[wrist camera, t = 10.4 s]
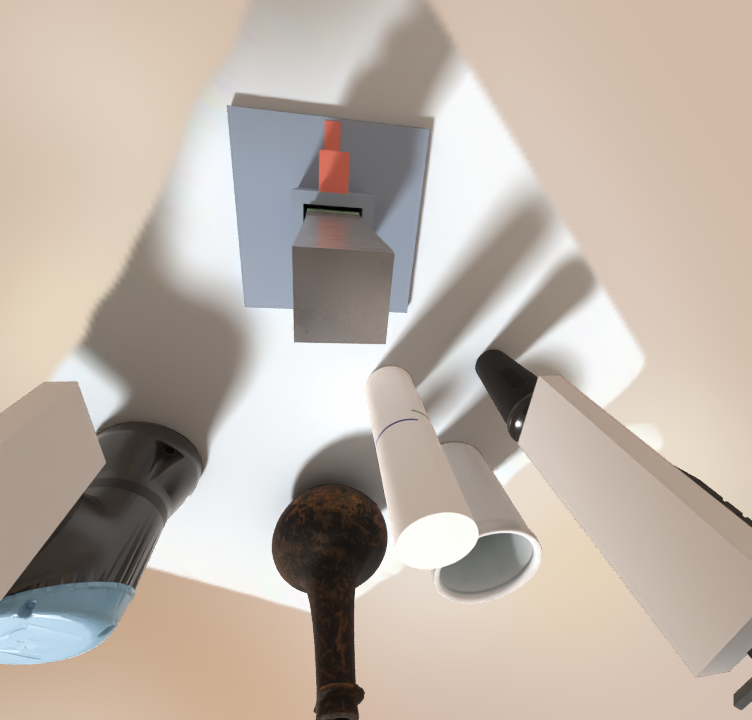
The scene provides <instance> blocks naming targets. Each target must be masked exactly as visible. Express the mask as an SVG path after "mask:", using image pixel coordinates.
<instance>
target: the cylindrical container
mask: <svg viewBox="0 0 752 720" xmlns="http://www.w3.org/2000/svg"><path fill="white" fill-rule="evenodd" d="M365 396H366V401H367V406H368V411H369V416H370V421H371V426H372V431H373V436H374V442H375V447H376V452H377V457H378V462H379V467H380V472H381V477H382V483H383V488H384V493H385V498H386V503H387V508H388V513H389V518H390V523H391V529H392V534H393V539H394V544H395V549H396V553H397V556H398V557H399V559H400V560H401V561H402V562H403V563H404V564H406V565H408V566H410V567H414V568H418V569H435V568H441V567H444V566H448V565H450V564H453V563H455V562H457V561H458V560H460V559H462V558H463V557H464V556H466V555H467V554H468V553H469V552H470V551H471V550H472V549H473V547H474V546H475V545H476V542H477V540H478V535H479V533H478V528H477V525H476V523H475V521H474V519H473V516H472V514H471V512H470V510H469V507H468V505H467V503H466V501H465V498H464V496H463V494H462V492H461V489H460V487H459V485H458V482H457V480H456V478H455V476H454V473H453V471H452V469H451V467H450V464H449V462H448V460H447V458H446V455H445V453H444V451H443V449H442V446H441V444H440V442H439V440H438V437H437V435H436V433H435V430H434V428H433V426H432V424H431V422H430V419H429V417H428V415H427V413H426V410H425V408H424V406H423V404H422V401H421V399H420V397H419V395H418V392H417V390H416V388H415V386H414V383H413V381H412V379H411V377H410V375H409V374H408V373H407V372H406V371H405V370H404V369H402V368H399V367H396V366H386V367H382V368H380V369H377V370H376V371H374V372H373V373H372V374H371V375H370V376H369V377H368V379H367V381H366V383H365Z"/></svg>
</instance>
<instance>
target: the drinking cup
mask: <svg viewBox="0 0 752 720" xmlns="http://www.w3.org/2000/svg"><path fill="white" fill-rule="evenodd" d="M475 369H476V372H477V374H478V376H479V378H480V379H481V381H482V383H483V384H484V386H485V388H486V390H487V391H488V393H489V395H490V397H491V398H492V400H493V402H494V403H495V405H496V407H497V409H498V410H499V412H500V414H501V415H502V417H503V419H504V421H505V422H506V424H507V428H508V432H509V434H510V435H511V437H512V438H513V439H514V440H515V441H516V442H518V441H519V438H520V435H521V432H522V428H523V425H524V422H525V419H526V415H527V412H528V409H529V406H530V402H531V399H532V396H533V392H534V389H535V386H536V383H537V379H538V377H536V376H535V375H534V374H532V373H531V372H529V371H528V370H527V369H525V368H524V367H522V366H521V365H520V364H518V363H517V362H515V361H514V360H513V359H511V358H510V357H508V356H507V355H506V354H504V353H503V352H501V351H499V350H490V351H487V352H485V353H483V354H482V355H481V356H480V357H479V358H478V360H477V362H476V366H475Z"/></svg>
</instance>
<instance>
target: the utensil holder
mask: <svg viewBox="0 0 752 720" xmlns="http://www.w3.org/2000/svg"><path fill="white" fill-rule="evenodd" d="M441 446H442V449H443V451H444V453H445V455H446V458H447V460H448V462H449V464H450V467H451V469H452V471H453V473H454V476H455V478H456V480H457V482H458V485H459V487H460V489H461V492H462V494H463V496H464V498H465V501H466V503H467V505H468V507H469V510H470V512H471V514H472V516H473V519H474V521H475V523H476V525H477V528H478V533H479V535H478V540H477V542H476V545H475V546H474V547H473V549H472V550H471V551H470V552H469V553H468V554H467V555H466V556H464V557H463V558H462V559H460V560H458V561H457V562H455V563H453V564H450V565H448V566H444V567H441V568H435V569H431V572H432V579H433V582H434V585H435V587H436V589H437V591H438V592H439V593H440V594H441V595H442V596H444V597H445V598H447V599H449V600H451V601H455V602H460V603H480V602H487V601H491V600H495V599H497V598H500V597H503V596H505V595H507V594H509V593H511V592H513V591H515V590H516V589H518V588H519V587H521V586H522V585H524V584H525V583H526V582H527V581H528V580H529V579H530V578H531V577H532V576H533V575H534V574H535V572H536V571H537V569H538V567H539V565H540V563H541V559H542V549H541V545H540V543H539V541H538V539H537V537H536V536H535V534H534V533H533V532H532V531H531V530H530V529H529V528H528V527H527V525H526V524H525V522H524V520H523V519H522V517H521V516H520V514H519V512H518V511H517V509H516V508H515V506H514V505H513V503H512V501H511V500H510V498H509V497H508V495H507V494H506V492H505V490H504V489H503V487H502V485H501V484H500V482H499V481H498V479H497V478H496V476H495V475H494V473H493V472H492V470H491V469H490V467H489V465H488V464H487V462H486V461H485V459H484V458H483V456H482V455H481V454H480V452H479V451H478V450H477V449H476V448H474V447H472V446H470V445H468V444H465V443H460V442H449V443H444V444H441Z"/></svg>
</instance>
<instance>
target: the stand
mask: <svg viewBox="0 0 752 720" xmlns="http://www.w3.org/2000/svg"><path fill="white" fill-rule="evenodd" d="M227 112H228V123H229V134H230V146H231V157H232V168H233V179H234V191H235V202H236V213H237V225H238V236H239V247H240V258H241V270H242V281H243V292H244V304H245V307H255V308H285V309H293V269H292V245H293V243H294V241H295V239H296V237H297V235H298V233H299V231H300V228H301V226H302V224H303V222H304V220H305V218H306V213H307V208H323V209H336V210H349V211H354V212H359V215H360V217H363V221H364V222H365V223H366V224H367V225H368V226H369V227H370V228H371V229H372V230H373V231H374V232H375V233H376V234H377V235H378V236H379V237H380V238H381V239H382V240H383V241H384V242H385V243H386V244H387V245H388V246H389V247H390V248H391V249H392V250H393V251H394V252H395V255H394V265H393V275H392V285H391V295H390V305H389V312H402V313H407V308H408V300H409V292H410V284H411V276H412V268H413V260H414V252H415V244H416V236H417V228H418V220H419V212H420V204H421V196H422V188H423V180H424V172H425V164H426V156H427V148H428V140H429V132H430V129H424V128H416V127H407V126H399V125H390V124H382V123H373V122H365V121H356V120H348V119H340V118H331V117H323V116H314V115H306V114H297V113H289V112H280V111H272V110H263V109H255V108H246V107H238V106H229V105H227Z"/></svg>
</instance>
